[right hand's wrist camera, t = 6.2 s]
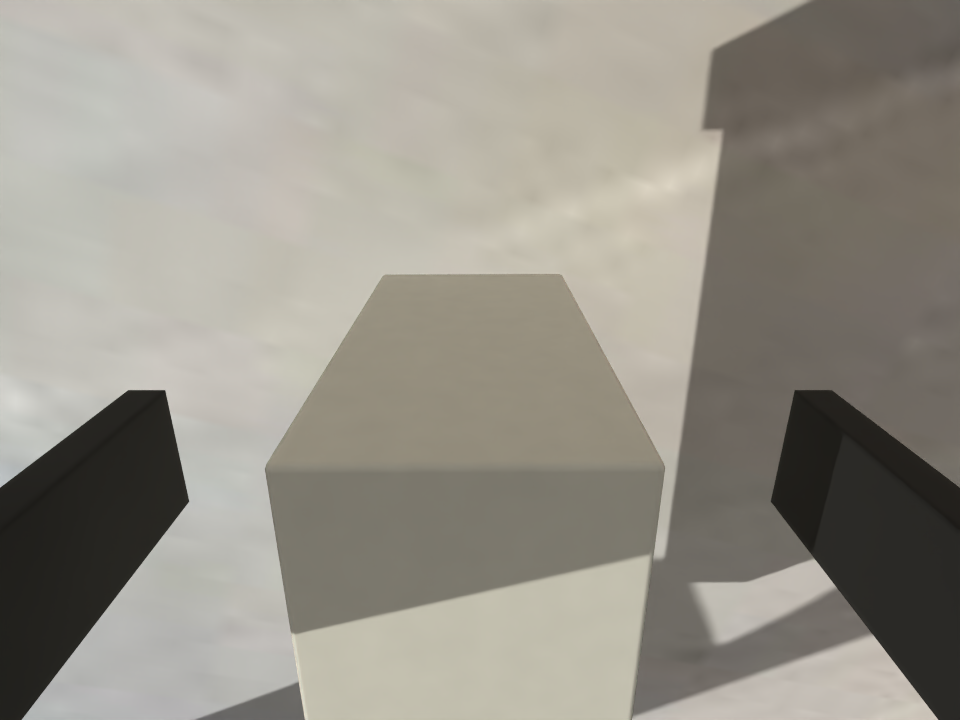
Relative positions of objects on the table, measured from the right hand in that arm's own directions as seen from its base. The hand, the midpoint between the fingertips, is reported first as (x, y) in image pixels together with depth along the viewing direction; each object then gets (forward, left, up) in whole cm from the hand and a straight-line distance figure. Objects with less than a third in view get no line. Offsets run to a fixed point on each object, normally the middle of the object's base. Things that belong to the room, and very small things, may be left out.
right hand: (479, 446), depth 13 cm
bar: (+7, +6, -3) cm, 10 cm away
